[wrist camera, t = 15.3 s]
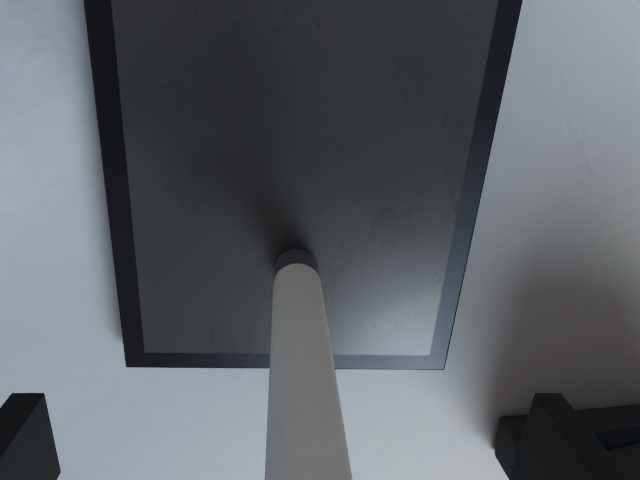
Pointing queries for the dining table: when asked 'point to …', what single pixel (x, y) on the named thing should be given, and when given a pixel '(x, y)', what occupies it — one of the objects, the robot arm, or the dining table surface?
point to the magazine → (606, 424)
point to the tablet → (294, 167)
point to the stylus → (302, 380)
